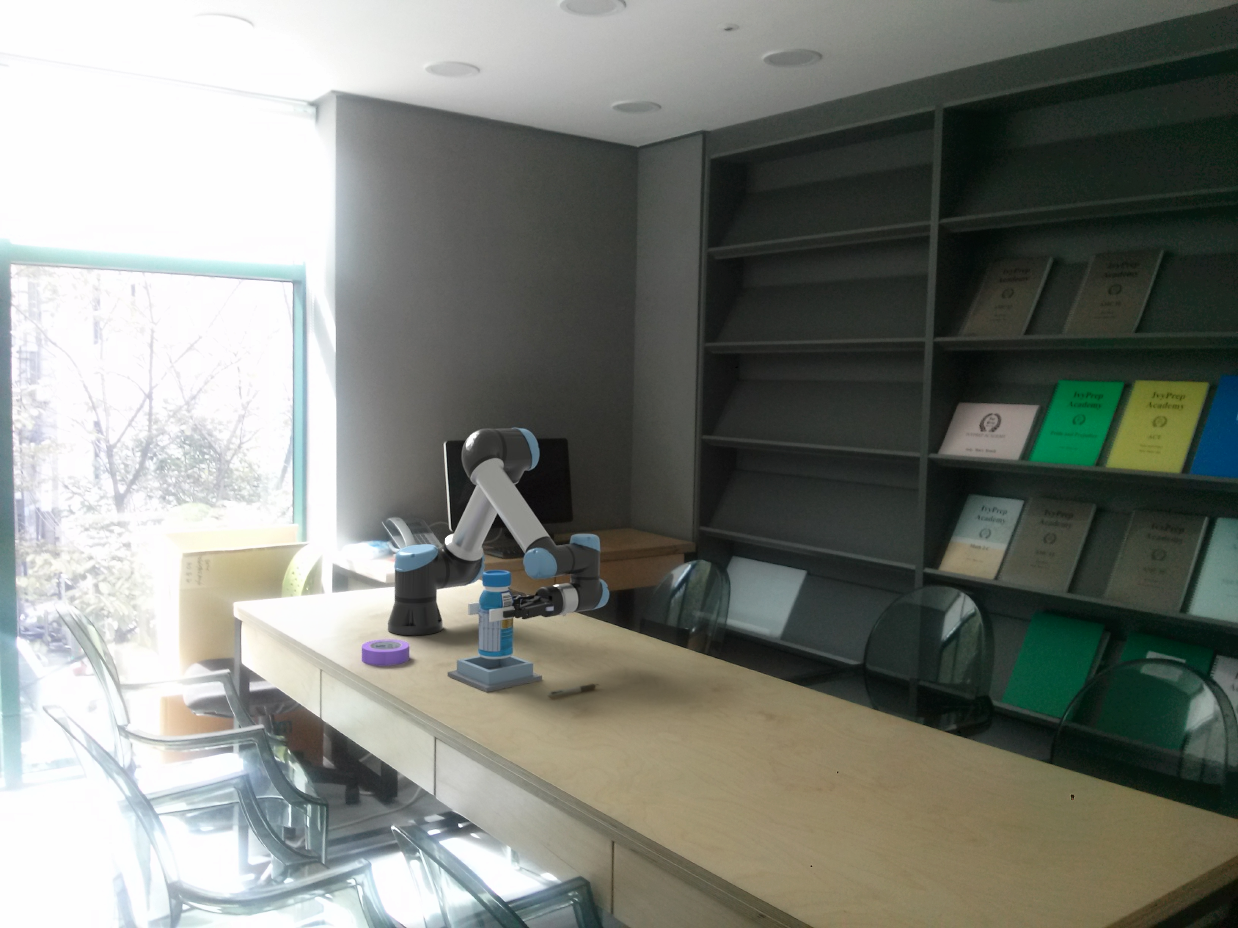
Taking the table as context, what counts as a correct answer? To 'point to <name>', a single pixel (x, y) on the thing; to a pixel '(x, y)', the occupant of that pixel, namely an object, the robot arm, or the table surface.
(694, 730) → the table surface
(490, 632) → the beverage bottle
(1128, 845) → the table surface
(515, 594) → the hand tool
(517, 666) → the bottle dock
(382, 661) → the masking tape
